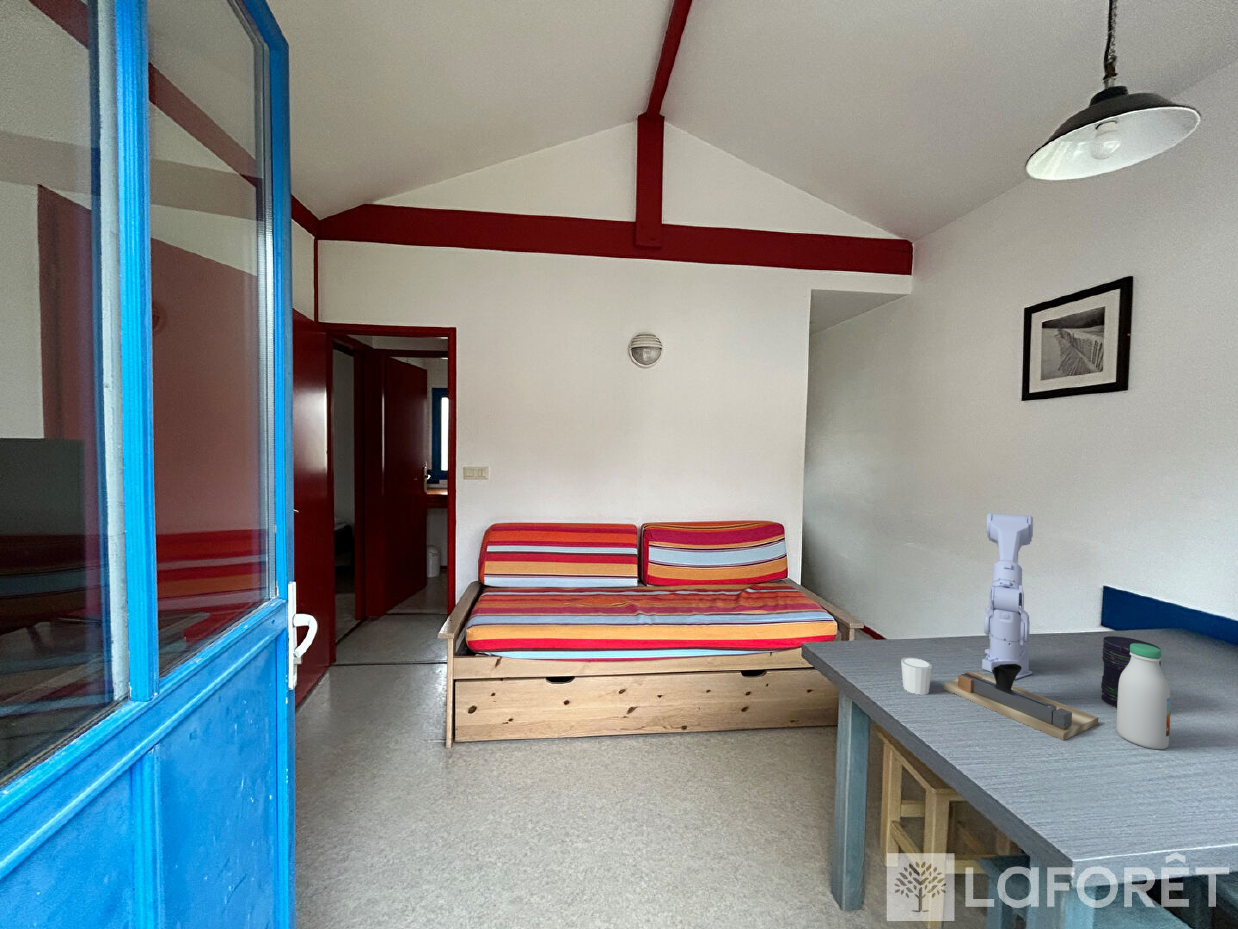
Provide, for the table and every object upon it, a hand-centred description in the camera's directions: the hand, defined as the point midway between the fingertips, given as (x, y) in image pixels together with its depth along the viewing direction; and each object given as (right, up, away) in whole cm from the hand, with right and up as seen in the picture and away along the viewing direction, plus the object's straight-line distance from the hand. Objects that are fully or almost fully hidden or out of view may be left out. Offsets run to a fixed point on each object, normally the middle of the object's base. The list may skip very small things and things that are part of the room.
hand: (1003, 692), depth 122 cm
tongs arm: (0, -1, -2) cm, 2 cm away
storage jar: (+30, -3, 0) cm, 30 cm away
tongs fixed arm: (-1, -1, -4) cm, 4 cm away
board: (+3, -3, 0) cm, 4 cm away
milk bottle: (+18, -4, -15) cm, 24 cm away
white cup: (-17, -3, +8) cm, 19 cm away
